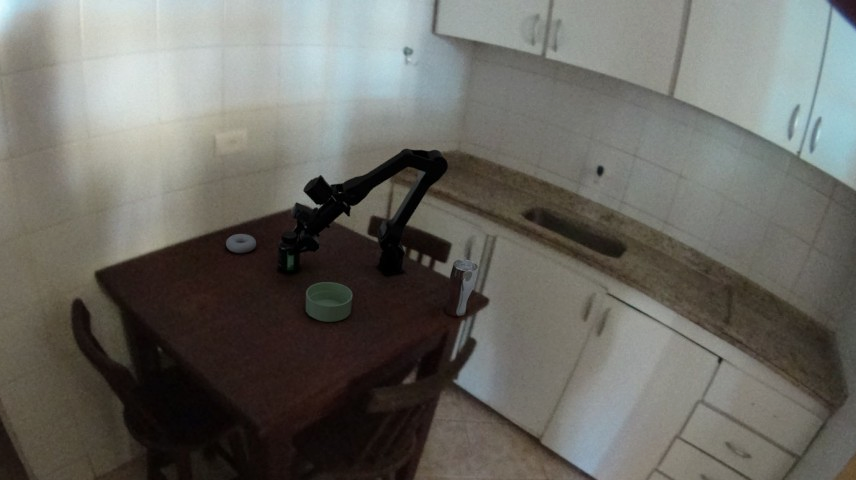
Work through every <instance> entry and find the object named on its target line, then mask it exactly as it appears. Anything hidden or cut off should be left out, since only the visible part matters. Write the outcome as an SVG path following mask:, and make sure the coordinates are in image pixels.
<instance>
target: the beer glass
mask: <svg viewBox="0 0 856 480" xmlns="http://www.w3.org/2000/svg"><path fill="white" fill-rule="evenodd" d="M478 269H479V267H478V264H477V263H476V262H474V261H472V260H469V259H456V260H454V262H453V263H452V267H451V271H450V275H449V280H448V300H447V303H446V305H445V308H444V311H445V313H446V314H448V315H449V316H451V317H454V318H461V317H464V316H466V315H467V313H468V302H469V299H470V297H471V294H472V292H473V290H474V287H475V284H476V280H477V274H478Z"/></svg>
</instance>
